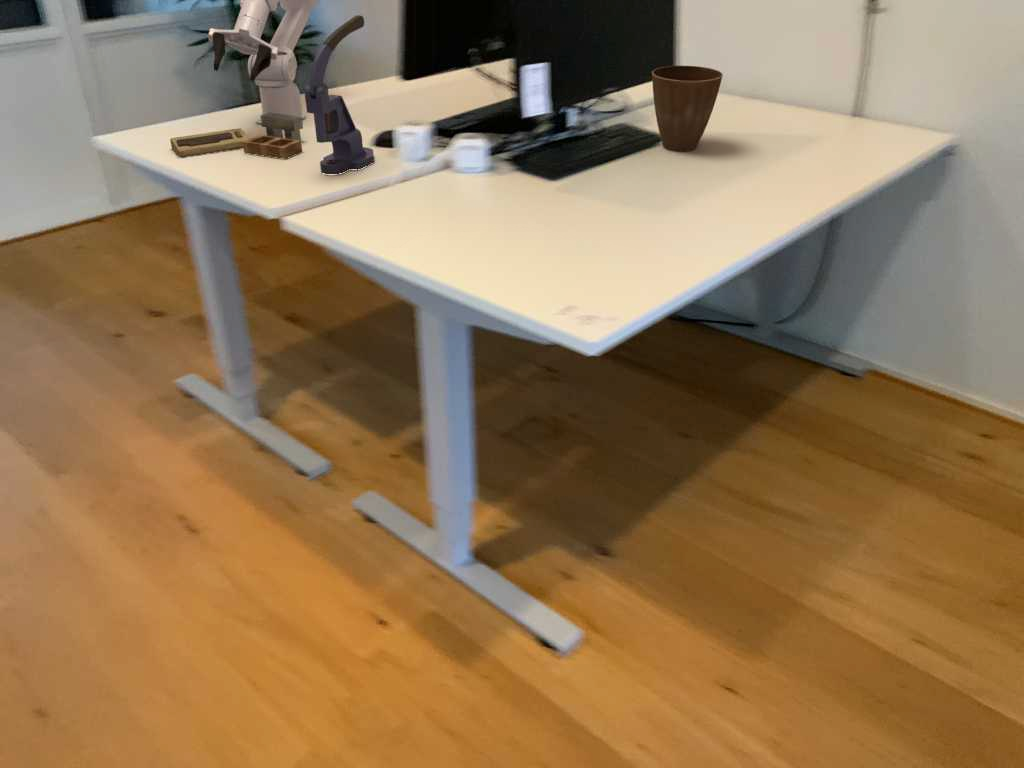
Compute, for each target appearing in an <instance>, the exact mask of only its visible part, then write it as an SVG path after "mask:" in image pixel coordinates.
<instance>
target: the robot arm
mask: <svg viewBox="0 0 1024 768" xmlns="http://www.w3.org/2000/svg"><path fill="white" fill-rule="evenodd" d="M318 2H319V0H240V3H239V5H240V10H239V13H238V16H237V19H236V22H235V24H234V28H233V29H219V28H218V29H216V28H212V27H211V28H210V29H209V32H208V39H207V40H208V41H209V42H211V43H212V48H213V52H214V53H213V54H214V62H213V70H214V71H216V72H218V70H219V69H220V65H221V62H222V59H223V57H224V56H225V54H226V46H228V47H230V48H232V49H234V50H235V51H236V52H239V53H240V54H244V55H250V56H249V58H248V59H247V60H248V61H247V72H248V74H249V78H250V81H251V82H255V86H258V89H259V96H260V98H259V99H260V105H261V110H262V115H264V114H266V113H276V114H284V115H291V116H298V117H302V120H304V119H306V115H303V108H302V102H301V100H302V99H301V94H300V89H299V88H298V86H297V84H296V83H295V82H294V80H295V78H296V73H297V68H298V63H297V59H296V55H295V53H294V50H295V47H296V45H297V44H298V40H300V37H301V35H302V33H303V31H304V29H305V26H306V25H307V22H308V20H309V17H310V15H311V12H312V11H313V10H314V9H315V8H316V6H317V4H318ZM278 4H279V5H280V8H281V9H283V10H284V11H285V14H284V15H283V17H282V19H281V22H280V23H279V25H278V26H277V29H276V31H275V33H274V35H273V37H272V38H271V40H270V42H266V41H264V40H263V39H261V37H262V35H263V32H264V30H265V29H264V28H265V26H266V23H267V20H268V17H269V14H270V12H276V11H277V9H278ZM255 123H256V124H259V125H262V122H261V119H259V120H256V122H255Z"/></svg>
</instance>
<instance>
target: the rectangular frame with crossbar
mask: <svg viewBox="0 0 1024 768" xmlns="http://www.w3.org/2000/svg"><path fill="white" fill-rule="evenodd" d="M302 147H303V146H302V140H301V141H299V140H293V139H286V138H285V137H283V138H279V137H272V136H267V135H264V134H259V135H256V136H253V137H251V138H250V139H248V140H245V141H243V152H245V153H244V154H246V153H251V154H250V155H253V154H257V155H256V156H259V155H264V156H263V157H265V156H271V157H270V158H272V157H277V158H276V159H278V158H284V159H286V158H288V157H290V158H292V157H294V156H293V155H295V154H297V155H299V154H301V153H300V152H302V153H303V148H302ZM298 153H299V154H298ZM291 156H292V157H291ZM295 156H296V155H295ZM284 159H283V160H284ZM288 159H289V158H288ZM286 160H287V159H286Z"/></svg>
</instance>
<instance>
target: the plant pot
mask: <svg viewBox="0 0 1024 768" xmlns="http://www.w3.org/2000/svg"><path fill="white" fill-rule="evenodd" d="M651 74H652V75H651V76H652V79H651V81H652V93H653V94H652V95H653V103H654V105H653V106H654V112H655V117H656V123H657V127H658V131H659V136H660V140H661V143H662V147H663V148H664V149H666V150H668V151H672V150H673V151H672V152H688V151H687V150H691V151H694V150H696V149H697V147H698V145H699V142H700V141H701V139H702V137H703V135H704V133H705V130H706V128H707V126H708V123H709V121H710V118H711V115H712V113H713V111H714V107H715V105H716V104H715V103H716V101H717V97H718V93H719V90H720V87H721V84H722V79H723V76H724V75H723V72H721V71H720V70H718V69H714V68H710V67H703V66H699V65H698V66H696V65H669V66H668V65H667V66H661V67H658V68H655V69H654V70H652V72H651ZM695 148H696V149H695ZM693 149H694V150H693Z"/></svg>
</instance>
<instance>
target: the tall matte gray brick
mask: <svg viewBox="0 0 1024 768" xmlns="http://www.w3.org/2000/svg"><path fill="white" fill-rule="evenodd" d="M260 120H261V122H262V124H261V127H262V128H265V131H266V136H272V137H279V138H286V139H293V140H299V141H301V142H302V137H301V131H300V130H302V129H304V126H303V119H302V117H298V116H291V115H284V114H276V113H266V114H264V115H263V114H261V115H260ZM283 133H284V136H283Z"/></svg>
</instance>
